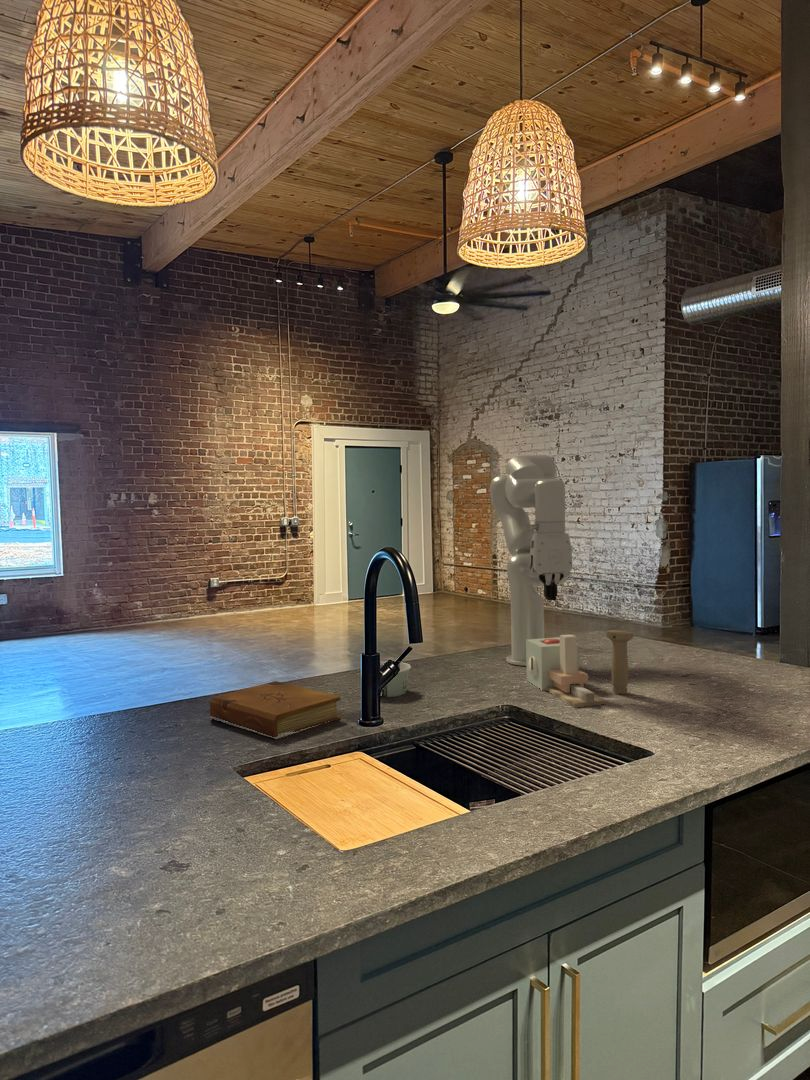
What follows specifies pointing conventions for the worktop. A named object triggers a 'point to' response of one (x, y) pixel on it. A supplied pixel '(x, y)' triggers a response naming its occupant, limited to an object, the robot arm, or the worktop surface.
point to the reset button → (551, 641)
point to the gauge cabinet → (543, 661)
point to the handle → (619, 659)
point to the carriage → (568, 666)
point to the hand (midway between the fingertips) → (550, 599)
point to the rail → (577, 696)
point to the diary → (275, 708)
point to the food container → (397, 682)
